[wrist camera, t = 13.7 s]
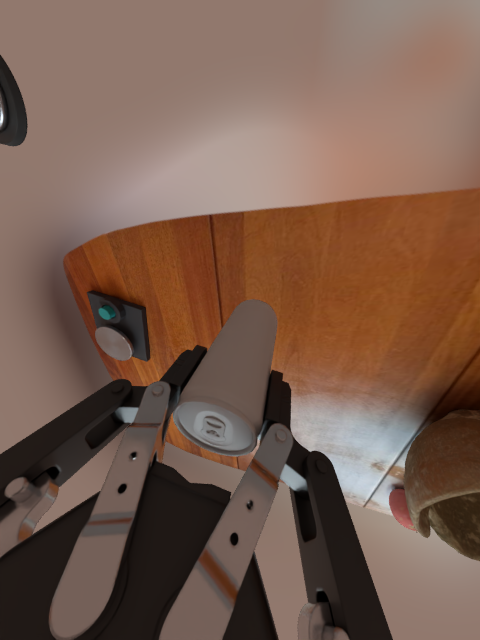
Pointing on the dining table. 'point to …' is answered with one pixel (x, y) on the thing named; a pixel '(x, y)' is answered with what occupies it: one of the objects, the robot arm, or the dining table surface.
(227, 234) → the dining table surface
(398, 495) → the apple
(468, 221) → the dining table surface
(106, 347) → the scale pan
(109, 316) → the button
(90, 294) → the scale
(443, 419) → the bowl
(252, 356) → the beverage can
